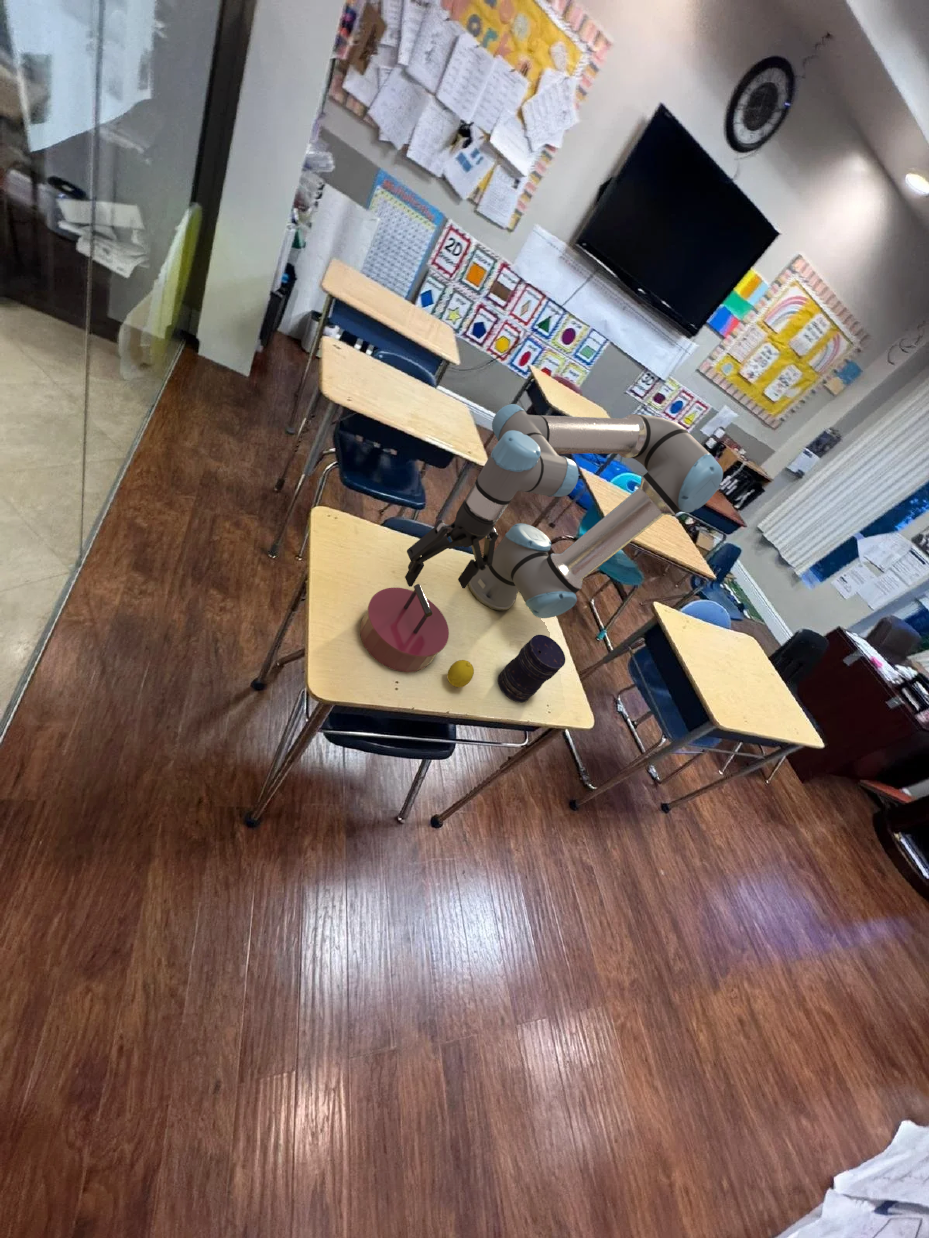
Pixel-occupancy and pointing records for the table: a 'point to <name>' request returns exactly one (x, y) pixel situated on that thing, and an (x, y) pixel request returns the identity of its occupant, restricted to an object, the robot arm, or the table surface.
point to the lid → (408, 621)
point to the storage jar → (531, 668)
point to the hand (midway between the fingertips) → (435, 583)
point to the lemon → (460, 673)
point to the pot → (389, 651)
